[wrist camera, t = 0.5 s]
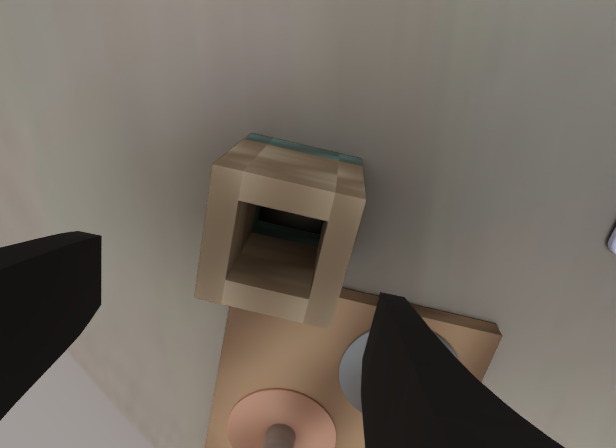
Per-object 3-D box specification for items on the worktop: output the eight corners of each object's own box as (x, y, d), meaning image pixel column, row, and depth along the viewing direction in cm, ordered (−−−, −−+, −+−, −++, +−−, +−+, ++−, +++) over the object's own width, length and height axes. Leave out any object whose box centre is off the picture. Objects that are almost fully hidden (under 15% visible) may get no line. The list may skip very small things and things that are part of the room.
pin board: (495, 323, 22) (525, 378, 18) (417, 502, 27) (428, 574, 23) (240, 264, 22) (217, 306, 18) (206, 452, 27) (183, 516, 23)
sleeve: (361, 158, 20) (366, 199, 14) (335, 257, 21) (330, 329, 16) (251, 133, 20) (212, 164, 14) (234, 234, 21) (194, 297, 16)
